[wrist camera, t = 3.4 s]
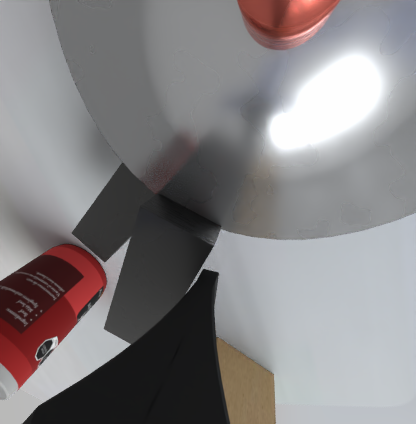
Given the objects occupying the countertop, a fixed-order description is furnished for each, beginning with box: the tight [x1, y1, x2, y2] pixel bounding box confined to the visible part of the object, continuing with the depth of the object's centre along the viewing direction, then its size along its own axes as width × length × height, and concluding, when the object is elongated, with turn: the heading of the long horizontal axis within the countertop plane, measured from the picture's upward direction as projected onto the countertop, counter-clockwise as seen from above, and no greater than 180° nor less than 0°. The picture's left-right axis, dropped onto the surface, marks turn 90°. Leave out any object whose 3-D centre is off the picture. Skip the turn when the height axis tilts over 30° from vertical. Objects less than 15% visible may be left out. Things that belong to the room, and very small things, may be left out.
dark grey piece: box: [72, 163, 156, 262], centre depth 10 cm, size 26×14×6 cm, turn 135°
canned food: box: [0, 244, 107, 400], centre depth 20 cm, size 8×8×11 cm
